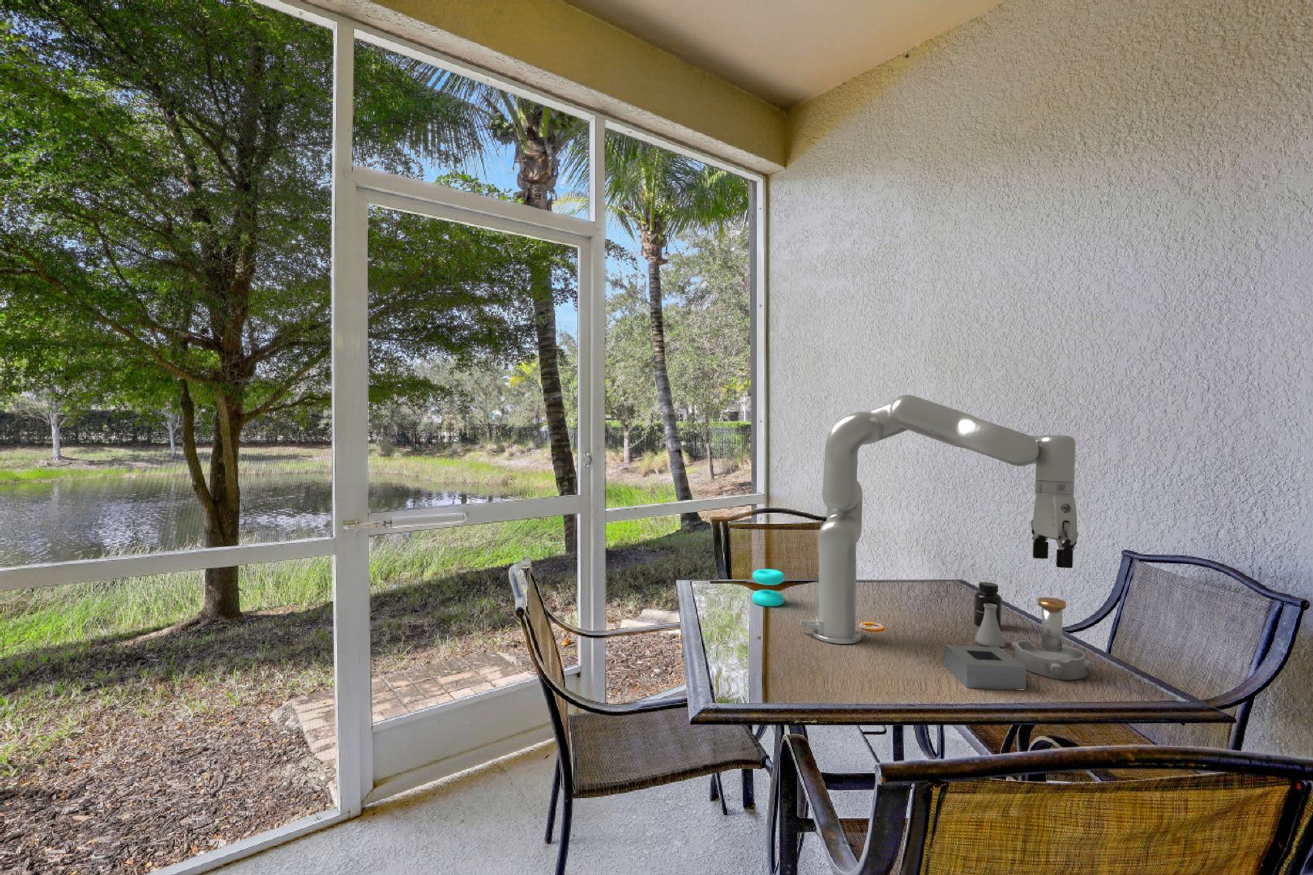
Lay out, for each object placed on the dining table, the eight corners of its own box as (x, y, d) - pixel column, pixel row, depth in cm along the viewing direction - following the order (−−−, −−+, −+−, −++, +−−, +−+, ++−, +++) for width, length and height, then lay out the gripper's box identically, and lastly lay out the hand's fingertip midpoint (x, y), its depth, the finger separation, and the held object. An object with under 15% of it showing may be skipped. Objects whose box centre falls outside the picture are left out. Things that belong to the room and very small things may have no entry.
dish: (1003, 658, 148) (1003, 637, 148) (1061, 659, 147) (1062, 639, 147) (1039, 682, 133) (1039, 660, 133) (1103, 684, 133) (1104, 661, 133)
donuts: (788, 575, 187) (757, 575, 186) (788, 607, 188) (756, 607, 186) (778, 567, 197) (748, 568, 196) (778, 598, 197) (748, 598, 196)
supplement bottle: (975, 627, 170) (975, 585, 170) (972, 621, 176) (973, 579, 176) (1002, 631, 168) (1003, 587, 167) (999, 624, 174) (1000, 582, 174)
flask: (1010, 649, 153) (1010, 609, 153) (979, 646, 155) (979, 607, 155) (999, 639, 160) (1000, 602, 160) (970, 637, 162) (971, 600, 162)
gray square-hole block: (966, 687, 129) (967, 664, 129) (944, 666, 141) (945, 644, 141) (1025, 690, 128) (1026, 667, 128) (998, 668, 140) (999, 647, 140)
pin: (1071, 653, 137) (1070, 604, 137) (1045, 652, 138) (1045, 603, 138) (1058, 644, 143) (1058, 597, 142) (1033, 644, 143) (1033, 597, 143)
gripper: (1095, 493, 131) (1092, 572, 131) (1050, 485, 148) (1048, 555, 148) (1058, 491, 131) (1056, 570, 132) (1018, 484, 149) (1015, 554, 149)
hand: (1051, 562), depth 140 cm, fingers open, 9 cm apart
